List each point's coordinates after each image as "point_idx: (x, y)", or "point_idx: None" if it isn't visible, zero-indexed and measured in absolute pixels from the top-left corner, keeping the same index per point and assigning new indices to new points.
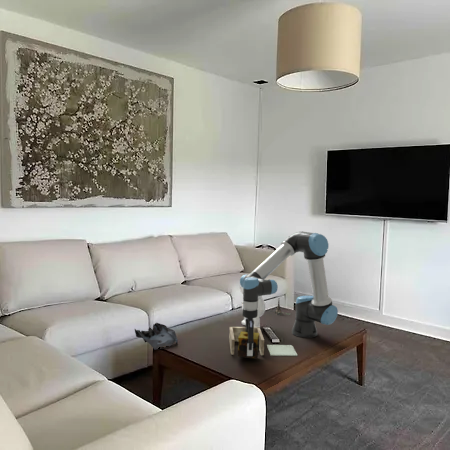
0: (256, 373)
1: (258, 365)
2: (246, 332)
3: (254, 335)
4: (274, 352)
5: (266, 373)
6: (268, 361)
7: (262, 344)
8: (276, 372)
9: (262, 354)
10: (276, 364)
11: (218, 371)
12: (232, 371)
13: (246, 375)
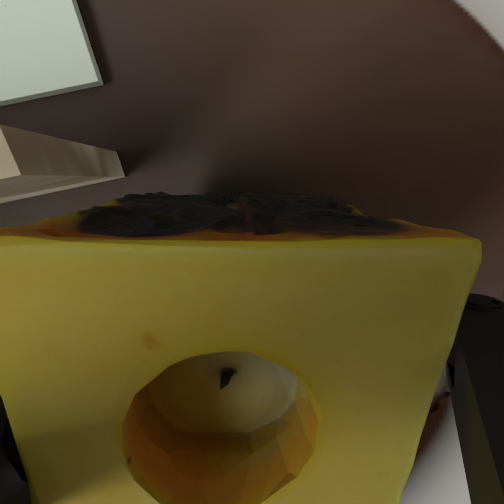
0: (467, 182)
1: (334, 179)
2: (73, 498)
3: (210, 335)
4: (24, 38)
5: (468, 107)
6: (241, 100)
7: (60, 160)
8: (451, 18)
9: (117, 163)
10: (290, 19)
11: (440, 389)
12: None
13: (494, 242)
